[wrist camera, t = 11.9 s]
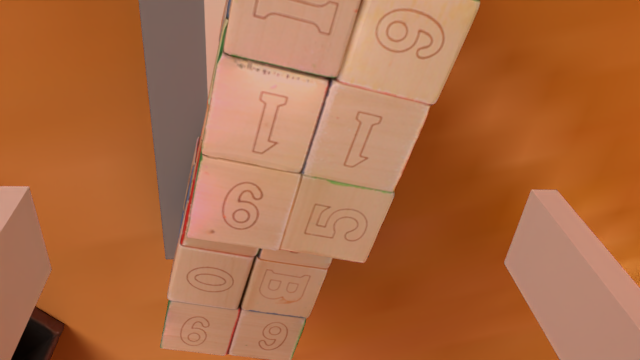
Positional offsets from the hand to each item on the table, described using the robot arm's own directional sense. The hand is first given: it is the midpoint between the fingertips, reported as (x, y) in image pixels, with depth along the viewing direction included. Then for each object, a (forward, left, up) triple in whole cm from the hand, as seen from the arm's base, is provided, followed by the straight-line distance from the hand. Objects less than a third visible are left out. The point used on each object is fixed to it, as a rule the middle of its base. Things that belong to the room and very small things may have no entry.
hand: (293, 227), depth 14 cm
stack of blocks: (+1, 0, -14) cm, 14 cm away
